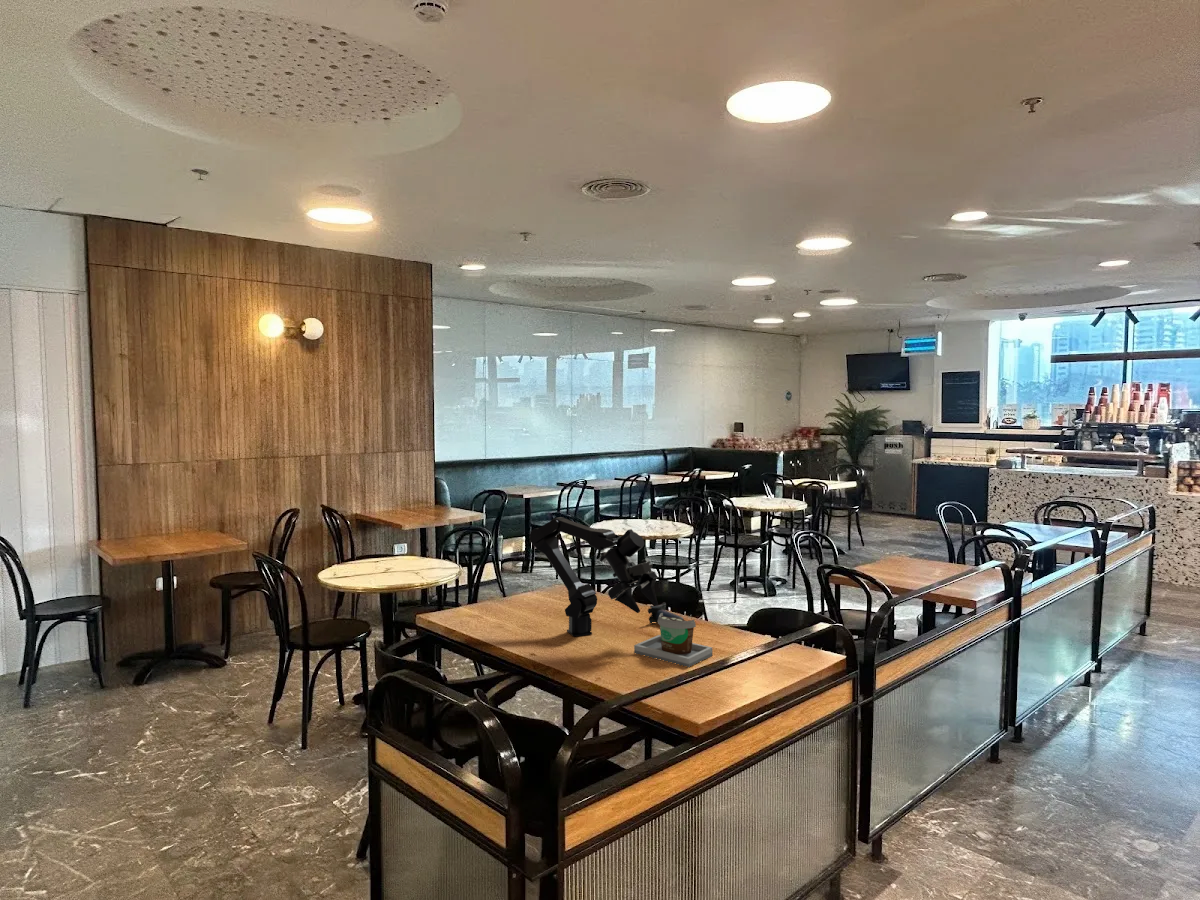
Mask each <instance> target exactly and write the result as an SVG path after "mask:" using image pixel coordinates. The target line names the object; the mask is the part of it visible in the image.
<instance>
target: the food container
mask: <svg viewBox="0 0 1200 900" xmlns="http://www.w3.org/2000/svg"><path fill="white" fill-rule="evenodd" d="M683 619H684V618H683ZM683 619H680V618H672V617H666V616H663V613H661V614H660V615H659V617H658V623H657V625H659V629H660V633H659V634H660V635H661V645H662V650H663V651H665V652H669V653H673V654H688V653H691V649H692V643H693V637H694V629H695V628H696V621H695V619H692V620H691V619H690V620H685V619H684V620H683Z"/></svg>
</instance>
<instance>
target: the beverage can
mask: <svg viewBox="0 0 1200 900" xmlns="http://www.w3.org/2000/svg"><path fill="white" fill-rule="evenodd" d="M647 612H648V613H647V614H648V615H649V614H650V616H648V621H649V624H650V623H652V622H658V617H659V615H660V614H661V613H663V616H666V617H672V618H680V619H683V620H685V619H684V617H682V616H681V615H678V614H675V613H673V612H672V611H671V612H670V611H668V610H667V603H666V602H665V601H664V602H661V604H657V605H656V606H655V605H654V604H652V605H649V607H648V608H647Z"/></svg>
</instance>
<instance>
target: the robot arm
mask: <svg viewBox="0 0 1200 900" xmlns="http://www.w3.org/2000/svg"><path fill="white" fill-rule="evenodd" d="M560 533H564V534H566V535H569V536H572V537H574V538H577V539H580V540H583V541H585V542H586V543H587V544H588V545H589V546H590V547H592V548H593V549H595V550H597V551H603V550H607V549H608V550H607V551H604V552H601V553H600V559H599V562H605V561H606V562H607V563H608V565H609V566H610V567H611V569H612V571H613V574H612V576H613V577H614V578H617V579H618V581H617V582H616V583H615V584H614V585H613V586H612V587H610V588H609V589H608V591H607V595H608V597H609V599H610V600H614V601H615V602H618V603H620V604H622V605H623V606H624V605H625V606H626V607H627V608H628V609H630V610H632V611H634V612H635V613H636V614H639V613H640V612H641V610H640V607H639V605H638V604H637V601H636V600H635V598H634V597H633V589H634V588H635V587H638V588H639V589H640V593H642V594H643V596H645V597H646V598H647V600H649V602H651V604H652V605H653V606H656V605H659V603H658V598H657V594H656V590H655V584H656V582H657V578H658V574H656V572H655V571H652V568H653V563H652V561H651V560H650V558H648V557H647V558H644V559H642V560H641V563H639V564H636V563H635V561H630V560H629V559H628V558H631V557H633V556H635V554H636V553H638V551H640V550H641V549H642V548H643V547H645V541H644V539H643V537H642V535H641V536H640V534H638V533H636V532H635V531H634V530H633V529H632V528H631V529H627V530H626V531H625V532H624V534H623V535H619V534H616V533H615V531H614V530H612V529H608V528H594V527H593V528H592V527H590V526H587V525H583V524H581V523H578V522H575V521H572V520H570V519H567V518H565V517H563V516H560V517H559V516H558V517H554V518H552V519H551V520H550V521H548V522H546V523H545V524H542V525H541V526H539V527H537V528H533V529H531V531H530V533H529V542H530V544H532V546H533V547H534V548H535V550H537V551H538V552H540V553H542V554H543V555H545V557H546V558H547V560H548V561H549V563H550V564H551V566H552V568H553V569H554V571H555V573H556V574H557V575H558V577H559V579H560V580H561V582H562V583H563V584H564V586H565V588H566V590H567V592H568V596H567V597H568V600H569V605H567V607H566V608H565V609H564V612H565V616H566V617H568V629H566V632H567V633H568V634H570V635H571V636H572V637H579V636H580V637H581V636H589V635H593V632H592V622H593V621H592V617H591V613H593V612H594V609H595V608H596V607H597V604H598V597H597V592H596V591H595V590H594V588H593V586H592V585H591V583H586V584H584V583H583V582H581V580H580V579H579V577H578V575H577V574H576V573H575V571H574V569H573V568H572V566H571V565H570V563H569V561H568V560H567V559H566V558H565V556H564V554H563V553H562V551H561V550H560V548H559V545H558V542H559V541H558V537H557V536H558V535H560ZM632 588H633V589H632Z"/></svg>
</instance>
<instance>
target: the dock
mask: <svg viewBox="0 0 1200 900" xmlns="http://www.w3.org/2000/svg"><path fill="white" fill-rule="evenodd" d="M635 653H636V654H635ZM633 654H635V655H638V654H640V655H639V656H642V655H645V656H644V657H646V656H649V657H648V658H650V657H652V658H651V659H654V658H657V659H656V660H658V659H661V660H664V661H663V662H665V661H668V662H667V663H669V662H672V663H671V664H673V663H676V664H675V665H677V664H679V665H678V666H681V665H683V666H682V667H684V666H687V667H686V668H688V667H689V668H690V666H691V667H693V666H695V665H697V664H699V663H701V662H703V661H705V660H706V659H708V658H711V657H712V656H713V647H711V646H709V645H703V644H700V643H699V644H698V643H696V642H695V643H694V642H692V649H691V653H688V654H673V653H669V652H665V651H663V650H662V645H661V634H657V635H655V636H653V637H651V638H648V639H645V640H643V641H641V642H638V643H635V644H634V646H633ZM704 659H705V660H704ZM661 660H660V661H661ZM702 660H703V661H702ZM700 661H701V662H700ZM698 662H699V663H698ZM696 663H697V664H696ZM694 664H695V665H694ZM692 665H693V666H692Z"/></svg>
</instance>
